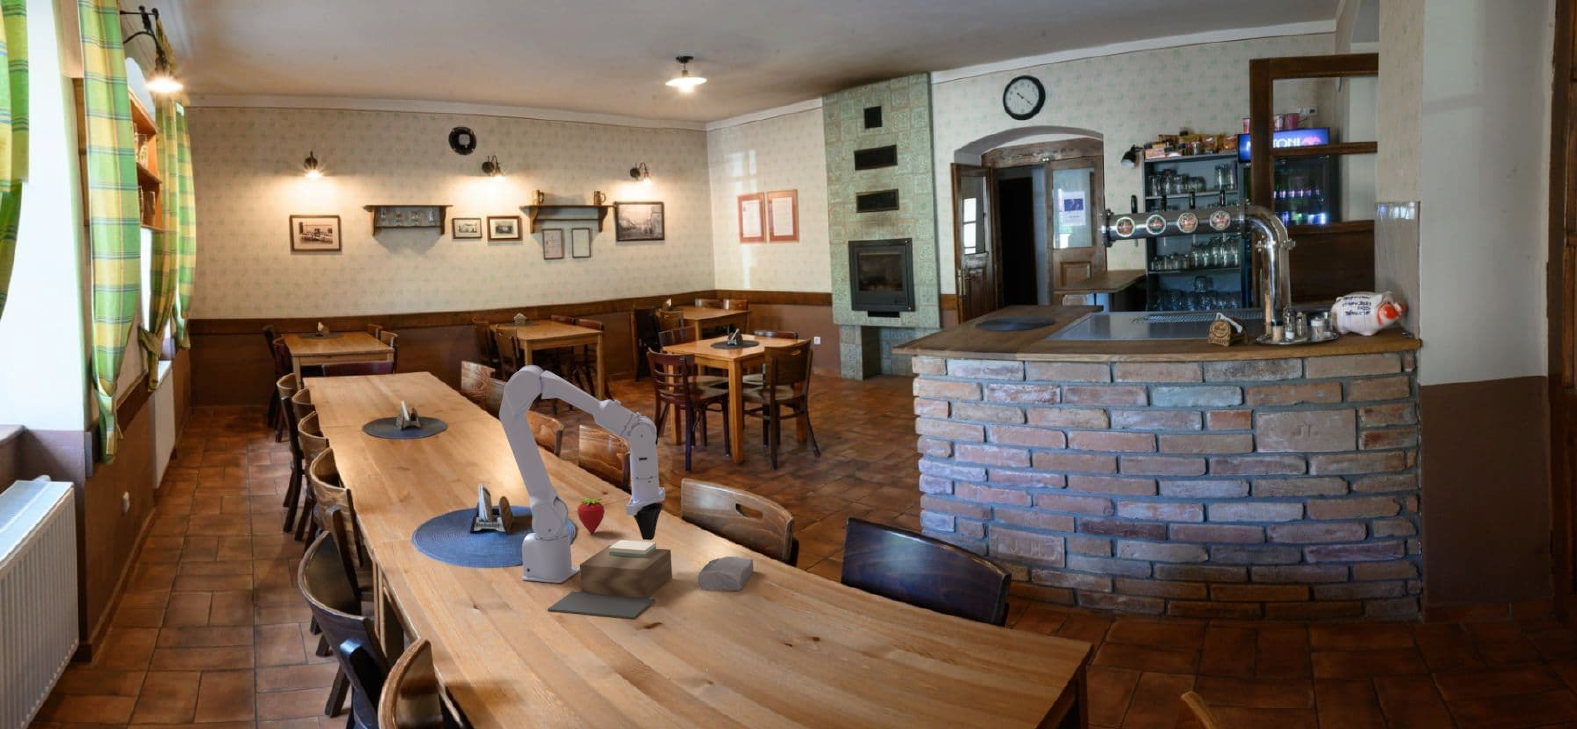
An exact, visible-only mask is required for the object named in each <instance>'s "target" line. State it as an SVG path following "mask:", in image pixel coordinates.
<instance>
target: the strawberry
mask: <svg viewBox="0 0 1577 729" xmlns="http://www.w3.org/2000/svg"><path fill="white" fill-rule="evenodd" d="M593 494H594V492H592V493H591V496H590V498H582V501H579V503H580V504H579V505H578V506H577V511H576V512H577V516H578V519H579V520H580V522H581V524H582V525H583V527H584V528H585V529H586V530H587V532H588V533H590V534H594V533H595V532H596V530H597V528H598V527H599V526H600V525H601V523H602V521H603V519H604V516H605V507H604V506H603V505H602V501H601V500H602V498H593V499H592V496H593Z"/></svg>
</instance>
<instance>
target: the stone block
mask: <svg viewBox="0 0 1577 729" xmlns="http://www.w3.org/2000/svg"><path fill="white" fill-rule="evenodd" d="M753 572H754V559H753V558H752V557H750V558H746V557H739V556H724V557H718V558H715V559H712V560H710V561H708V563H706V564H705V565H704V566H703V568H702V569H701V571H700V572H699V573H698V575H697V576H696V577H697V578H696V581H697V585H698V587H699V588H700V590H702V591H709V592H716V591H717V592H721V591H723V592H740V591H742V589H743V588H744V587H745V584H746V583H747V581H749V579H750V577H751V576H752V574H753Z"/></svg>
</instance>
